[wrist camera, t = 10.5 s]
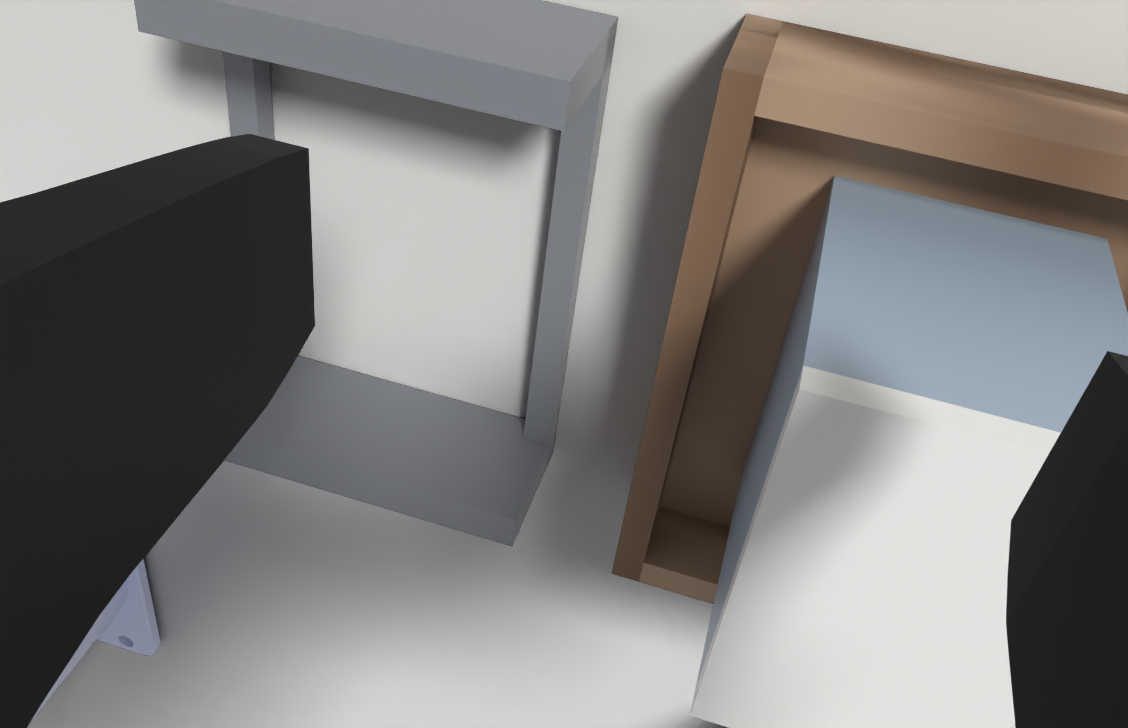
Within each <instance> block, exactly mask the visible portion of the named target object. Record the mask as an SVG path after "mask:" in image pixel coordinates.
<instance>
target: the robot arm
mask: <svg viewBox="0 0 1128 728" xmlns="http://www.w3.org/2000/svg"><path fill="white" fill-rule="evenodd" d="M314 326H315V317H314V289H313V261H312V233H311V205H310V177H309V149H308V148H304V147H300V146H296V145H292V144H288V143H284V142H280V141H276V140H272V139H268V138H264V137H260V136H256V135H253V134H244V135H238V136H232V137H227V138H222V139H218V140H214V141H210V142H206V143H202V144H198V145H194V146H191V147H187V148H184V149H180V150H177V151H173V152H170V153H166V154H163V155H160V156H156V157H153V158H149V159H146V160H143V161H140V162H136V163H133V164H130V165H126V166H123V167H120V168H116V169H113V170H110V171H107V172H103V173H100V174H97V175H93V176H90V177H87V178H83V179H80V180H77V181H73V182H70V183H67V184H64V185H60V186H57V187H54V188H50V189H47V190H44V191H40V192H37V193H34V194H30V195H27V196H23V197H19V198H15V199H12V200H8V201H4V202H1V203H0V728H27V727H28V725H29V724H30V722H31V721H32V720H33V719H34V717H35V716H36V715H37V714H38V712H39V711H40V710H41V709H42V707H43V706H44V705H45V704H46V702H47V701H48V700H49V698H50V697H51V696H52V695H53V693H54V692H55V691H56V690H57V688H58V687H59V686H60V685H61V683H62V682H63V681H64V680H65V678H66V677H67V676H68V675H69V673H70V672H71V671H72V670H73V668H74V667H75V666H76V665H77V663H78V662H79V661H80V660H81V658H82V657H83V656H84V655H85V653H86V652H87V651H88V649H89V648H90V647H91V646H92V644H93V643H94V642H95V641H96V640H99V641H102V642H105V643H108V644H111V645H114V646H117V647H120V648H123V649H126V650H129V651H133V652H136V653H139V654H142V655H146V656H148V655H153V654H154V653H155V652H156V651H157V649H158V648H159V646H160V643H161V642H160V637H159V632H158V627H157V622H156V617H155V612H154V608H153V603H152V598H151V593H150V588H149V583H148V578H147V573H146V569H145V564H144V559H143V558H144V557H145V556H146V555H147V553H148V552H149V551H150V550H151V549H152V547H153V546H154V545H155V544H156V543H157V541H158V540H159V539H160V538H161V536H162V535H163V534H164V533H165V532H166V530H167V529H168V528H169V527H170V525H171V524H172V523H173V522H174V521H175V519H176V518H177V517H178V516H179V514H180V513H181V512H182V511H183V510H184V508H185V507H186V506H187V505H188V504H189V502H190V501H191V500H192V499H193V497H194V496H195V495H196V494H197V493H198V491H199V490H200V489H201V488H202V487H203V485H204V484H205V483H206V482H207V480H208V479H209V478H210V477H211V476H212V474H213V473H214V472H215V471H216V469H217V468H218V467H219V466H220V465H221V463H222V462H223V461H224V460H225V458H226V457H227V456H228V455H229V453H230V452H231V451H232V450H233V448H234V447H235V446H236V445H237V443H238V442H239V441H240V440H241V438H242V437H243V436H244V435H245V434H246V432H247V431H248V430H249V429H250V427H251V426H252V425H253V424H254V422H255V421H256V420H257V418H258V417H259V416H260V415H261V413H262V412H263V411H264V409H265V408H266V407H267V406H268V404H269V402H270V401H271V399H272V398H273V396H274V394H275V393H276V391H277V390H278V388H279V386H280V385H281V383H282V381H283V380H284V378H285V377H286V375H287V373H288V372H289V370H290V368H291V367H292V365H293V363H294V361H295V360H296V358H297V356H298V354H299V353H300V351H301V349H302V347H303V346H304V344H305V342H306V340H307V339H308V337H309V335H310V333H311V332H312V330H313V328H314ZM1006 629H1007V641H1008V653H1009V663H1010V674H1011V685H1012V696H1013V706H1014V716H1015V726H1016V728H1128V356H1126V355H1122V354H1118V353H1114V352H1110V351H1107V353H1106V354H1105V356H1104V358H1103V360H1102V361H1101V363H1100V365H1099V367H1098V368H1097V370H1096V372H1095V374H1094V375H1093V377H1092V379H1091V381H1090V382H1089V384H1088V386H1087V388H1086V390H1085V391H1084V393H1083V395H1082V397H1081V398H1080V400H1079V402H1078V404H1077V405H1076V407H1075V409H1074V411H1073V412H1072V414H1071V416H1070V418H1069V419H1068V421H1067V423H1066V425H1065V426H1064V428H1063V430H1062V432H1061V433H1060V435H1059V437H1058V439H1057V440H1056V442H1055V444H1054V446H1053V448H1052V449H1051V451H1050V453H1049V455H1048V456H1047V458H1046V460H1045V462H1044V463H1043V465H1042V467H1041V469H1040V470H1039V472H1038V474H1037V476H1036V477H1035V479H1034V481H1033V483H1032V484H1031V486H1030V488H1029V490H1028V491H1027V493H1026V495H1025V497H1024V499H1023V500H1022V502H1021V504H1020V506H1019V507H1018V509H1017V511H1016V513H1015V514H1014V516H1013V518H1012V520H1011V531H1010V546H1009V561H1008V576H1007V605H1006Z"/></svg>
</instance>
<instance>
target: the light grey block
mask: <svg viewBox="0 0 1128 728" xmlns="http://www.w3.org/2000/svg"><path fill="white" fill-rule="evenodd" d="M1107 351H1110V352H1114V353H1118V354H1122V355H1126V356H1128V312H1127V309H1126V305H1125V302H1124V298H1123V294H1122V291H1121V287H1120V283H1119V280H1118V276H1117V272H1116V269H1115V265H1114V261H1113V258H1112V254H1111V251H1110V247H1109V243H1108V240H1107V239H1106V238H1102V237H1097V236H1093V235H1089V234H1085V233H1080V232H1076V231H1072V230H1067V229H1063V228H1059V227H1055V226H1050V225H1046V224H1042V223H1037V222H1033V221H1029V220H1024V219H1020V218H1016V217H1012V216H1007V215H1003V214H999V213H994V212H990V211H986V210H982V209H977V208H973V207H969V206H964V205H960V204H956V203H951V202H947V201H943V200H939V199H934V198H930V197H926V196H921V195H917V194H913V193H909V192H904V191H900V190H896V189H891V188H887V187H883V186H878V185H874V184H870V183H866V182H861V181H857V180H853V179H848V178H844V177H840V176H836V175H834V178H833V182H832V185H831V188H830V191H829V195H828V198H827V201H826V204H825V207H824V211H823V214H822V217H821V220H820V223H819V227H818V230H817V233H816V236H815V240H814V243H813V246H812V249H811V252H810V256H809V259H808V262H807V265H806V268H805V272H804V275H803V278H802V281H801V285H800V288H799V291H798V294H797V297H796V301H795V304H794V307H793V310H792V313H791V317H790V320H789V323H788V326H787V330H786V333H785V336H784V339H783V342H782V346H781V349H780V352H779V355H778V358H777V362H776V365H775V368H774V371H773V374H772V378H771V381H770V384H769V387H768V391H767V394H766V397H765V400H764V403H763V407H762V410H761V413H760V416H759V419H758V423H757V426H756V429H755V432H754V436H753V439H752V442H751V445H750V448H749V452H748V455H747V458H746V461H745V464H744V468H743V471H742V474H741V479H740V483H739V488H738V493H737V497H736V502H735V507H734V511H733V516H732V521H731V525H730V530H729V535H728V539H727V544H726V549H725V553H724V558H723V563H722V567H721V572H720V577H719V581H718V586H717V591H716V595H715V600H714V605H713V610H712V614H711V619H710V624H709V628H708V633H707V638H706V642H705V647H704V652H703V656H702V661H701V666H700V670H699V675H698V680H697V684H696V689H695V694H694V698H693V703H692V708H691V712H690V716H693V717H696V718H700V719H703V720H706V721H709V722H712V723H715V724H719V725H722V726H725V727H728V728H1012V727H1013V726H1014V724H1015V716H1014V706H1013V696H1012V685H1011V674H1010V663H1009V653H1008V641H1007V629H1006V605H1007V576H1008V561H1009V546H1010V531H1011V520H1012V518H1013V516H1014V514H1015V513H1016V511H1017V509H1018V507H1019V506H1020V504H1021V502H1022V500H1023V499H1024V497H1025V495H1026V493H1027V491H1028V490H1029V488H1030V486H1031V484H1032V483H1033V481H1034V479H1035V477H1036V476H1037V474H1038V472H1039V470H1040V469H1041V467H1042V465H1043V463H1044V462H1045V460H1046V458H1047V456H1048V455H1049V453H1050V451H1051V449H1052V448H1053V446H1054V444H1055V442H1056V440H1057V439H1058V437H1059V435H1060V433H1061V432H1062V430H1063V428H1064V426H1065V425H1066V423H1067V421H1068V419H1069V418H1070V416H1071V414H1072V412H1073V411H1074V409H1075V407H1076V405H1077V404H1078V402H1079V400H1080V398H1081V397H1082V395H1083V393H1084V391H1085V390H1086V388H1087V386H1088V384H1089V382H1090V381H1091V379H1092V377H1093V375H1094V374H1095V372H1096V370H1097V368H1098V367H1099V365H1100V363H1101V361H1102V360H1103V358H1104V356H1105V354H1106V353H1107Z"/></svg>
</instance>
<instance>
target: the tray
mask: <svg viewBox="0 0 1128 728" xmlns="http://www.w3.org/2000/svg"><path fill="white" fill-rule="evenodd" d="M834 175H836V176H840V177H844V178H848V179H853V180H857V181H861V182H866V183H870V184H874V185H878V186H883V187H887V188H891V189H896V190H900V191H904V192H909V193H913V194H917V195H921V196H926V197H930V198H934V199H939V200H943V201H947V202H951V203H956V204H960V205H964V206H969V207H973V208H977V209H982V210H986V211H990V212H994V213H999V214H1003V215H1007V216H1012V217H1016V218H1020V219H1024V220H1029V221H1033V222H1037V223H1042V224H1046V225H1050V226H1055V227H1059V228H1063V229H1067V230H1072V231H1076V232H1080V233H1085V234H1089V235H1093V236H1097V237H1102V238H1106V239H1107V240H1108V243H1109V247H1110V251H1111V254H1112V258H1113V261H1114V265H1115V269H1116V272H1117V276H1118V280H1119V283H1120V287H1121V291H1122V294H1123V298H1124V302H1125V305H1126V309H1127V312H1128V95H1127V94H1122V93H1117V92H1113V91H1108V90H1103V89H1098V88H1094V87H1089V86H1084V85H1080V84H1075V83H1070V82H1066V81H1061V80H1056V79H1051V78H1047V77H1042V76H1037V75H1033V74H1028V73H1023V72H1019V71H1014V70H1009V69H1004V68H1000V67H995V66H990V65H986V64H981V63H976V62H971V61H967V60H962V59H957V58H953V57H948V56H943V55H939V54H934V53H929V52H924V51H920V50H915V49H910V48H906V47H901V46H896V45H891V44H887V43H882V42H877V41H873V40H868V39H863V38H859V37H854V36H849V35H844V34H840V33H835V32H830V31H826V30H821V29H816V28H812V27H807V26H802V25H797V24H793V23H788V22H783V21H779V20H774V19H769V18H764V17H760V16H755V15H750V14H746V16H745V19H744V21H743V23H742V26H741V28H740V30H739V33H738V35H737V37H736V39H735V42H734V44H733V46H732V49H731V51H730V53H729V56H728V58H727V60H726V62H725V65H724V67H723V71H722V75H721V80H720V84H719V89H718V93H717V98H716V102H715V107H714V111H713V116H712V121H711V125H710V130H709V134H708V139H707V143H706V148H705V152H704V157H703V161H702V166H701V170H700V175H699V180H698V184H697V189H696V193H695V198H694V202H693V207H692V211H691V216H690V220H689V225H688V229H687V234H686V238H685V243H684V248H683V252H682V257H681V261H680V266H679V270H678V275H677V279H676V284H675V288H674V293H673V297H672V302H671V307H670V311H669V316H668V320H667V325H666V329H665V334H664V338H663V343H662V347H661V352H660V356H659V361H658V365H657V370H656V375H655V379H654V384H653V388H652V393H651V397H650V402H649V406H648V411H647V415H646V420H645V424H644V429H643V434H642V438H641V443H640V447H639V452H638V456H637V461H636V465H635V470H634V474H633V479H632V483H631V488H630V492H629V497H628V502H627V506H626V511H625V515H624V520H623V524H622V529H621V533H620V538H619V542H618V547H617V551H616V556H615V561H614V565H613V570H612V574H615V575H618V576H622V577H625V578H628V579H632V580H635V581H638V582H642V583H645V584H649V585H652V586H655V587H659V588H662V589H665V590H669V591H672V592H675V593H679V594H682V595H685V596H689V597H692V598H695V599H699V600H702V601H706V602H709V603H712V604H714V600H715V595H716V591H717V586H718V581H719V577H720V572H721V567H722V563H723V558H724V553H725V549H726V544H727V539H728V535H729V530H730V525H731V521H732V516H733V511H734V507H735V502H736V497H737V493H738V488H739V483H740V479H741V474H742V471H743V468H744V464H745V461H746V458H747V455H748V452H749V448H750V445H751V442H752V439H753V436H754V432H755V429H756V426H757V423H758V419H759V416H760V413H761V410H762V407H763V403H764V400H765V397H766V394H767V391H768V387H769V384H770V381H771V378H772V374H773V371H774V368H775V365H776V362H777V358H778V355H779V352H780V349H781V346H782V342H783V339H784V336H785V333H786V330H787V326H788V323H789V320H790V317H791V313H792V310H793V307H794V304H795V301H796V297H797V294H798V291H799V288H800V285H801V281H802V278H803V275H804V272H805V268H806V265H807V262H808V259H809V256H810V252H811V249H812V246H813V243H814V240H815V236H816V233H817V230H818V227H819V223H820V220H821V217H822V214H823V211H824V207H825V204H826V201H827V198H828V195H829V191H830V188H831V185H832V182H833V178H834Z"/></svg>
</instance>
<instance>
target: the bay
mask: <svg viewBox="0 0 1128 728" xmlns="http://www.w3.org/2000/svg"><path fill="white" fill-rule="evenodd" d="M134 2H135V9H136V16H137V23H138V30H139V31H140V32H144V33H148V34H152V35H157V36H161V37H165V38H169V39H174V40H178V41H182V42H186V43H191V44H195V45H199V46H203V47H208V48H212V49H216V50H220V51H223V54H224V65H225V76H226V87H227V97H228V108H229V119H230V130H231V137H232V136H238V135H244V134H253V135H256V136H260V137H264V138H268V139H272V140H274V126H273V110H272V94H271V79H270V63H269V62H271V63H275V64H280V65H284V66H288V67H292V68H297V69H301V70H305V71H309V72H314V73H318V74H322V75H326V76H331V77H335V78H339V79H343V80H348V81H352V82H356V83H360V84H365V85H369V86H373V87H377V88H382V89H386V90H390V91H394V92H399V93H403V94H407V95H411V96H416V97H420V98H424V99H428V100H433V101H437V102H441V103H445V104H450V105H454V106H458V107H462V108H466V109H471V110H475V111H479V112H483V113H488V114H492V115H496V116H500V117H505V118H509V119H513V120H517V121H522V122H526V123H530V124H534V125H539V126H543V127H547V128H551V129H556V130H560V131H561V136H560V145H559V153H558V161H557V169H556V177H555V185H554V193H553V201H552V209H551V217H550V225H549V233H548V241H547V249H546V257H545V265H544V273H543V282H542V290H541V298H540V306H539V314H538V322H537V330H536V338H535V346H534V354H533V362H532V370H531V378H530V386H529V394H528V402H527V411H526V419H523V418H519V417H516V416H512V415H508V414H505V413H501V412H498V411H494V410H490V409H487V408H483V407H480V406H476V405H473V404H469V403H465V402H462V401H458V400H455V399H451V398H448V397H444V396H440V395H437V394H433V393H430V392H426V391H422V390H419V389H415V388H412V387H408V386H405V385H401V384H397V383H394V382H390V381H387V380H383V379H380V378H376V377H372V376H369V375H365V374H362V373H358V372H354V371H351V370H347V369H344V368H340V367H337V366H333V365H329V364H326V363H322V362H319V361H315V360H312V359H308V358H304V357H301V356H297V358H296V360H295V361H294V363H293V365H292V367H291V368H290V370H289V372H288V373H287V375H286V377H285V378H284V380H283V381H282V383H281V385H280V386H279V388H278V390H277V391H276V393H275V394H274V396H273V398H272V399H271V401H270V402H269V404H268V406H267V407H266V408H265V409H264V411H263V412H262V413H261V415H260V416H259V417H258V418H257V420H256V421H255V422H254V424H253V425H252V426H251V427H250V429H249V430H248V431H247V432H246V434H245V435H244V436H243V437H242V438H241V440H240V441H239V442H238V443H237V445H236V446H235V447H234V448H233V450H232V451H231V452H230V453H229V455H228V456H227V457H226V458H225V461H228V462H231V463H235V464H238V465H242V466H245V467H248V468H252V469H255V470H258V471H262V472H265V473H268V474H272V475H275V476H278V477H282V478H285V479H288V480H292V481H295V482H298V483H302V484H305V485H308V486H312V487H315V488H319V489H322V490H325V491H329V492H332V493H335V494H339V495H342V496H345V497H349V498H352V499H355V500H359V501H362V502H365V503H369V504H372V505H375V506H379V507H382V508H385V509H389V510H392V511H395V512H399V513H402V514H406V515H409V516H412V517H416V518H419V519H422V520H426V521H429V522H432V523H436V524H439V525H442V526H446V527H449V528H452V529H456V530H459V531H462V532H466V533H469V534H472V535H476V536H479V537H483V538H486V539H489V540H493V541H496V542H499V543H503V544H506V545H509V546H512V545H513V543H514V541H515V538H516V536H517V534H518V532H519V529H520V527H521V525H522V523H523V520H524V518H525V516H526V513H527V511H528V509H529V507H530V504H531V502H532V500H533V497H534V495H535V493H536V491H537V488H538V486H539V484H540V481H541V479H542V477H543V475H544V472H545V470H546V468H547V465H548V463H549V461H550V459H551V456H552V454H553V448H554V441H555V435H556V428H557V421H558V415H559V408H560V401H561V395H562V388H563V381H564V375H565V368H566V361H567V355H568V348H569V341H570V335H571V328H572V321H573V315H574V308H575V302H576V295H577V288H578V282H579V275H580V268H581V262H582V255H583V248H584V242H585V235H586V228H587V222H588V215H589V208H590V202H591V195H592V188H593V182H594V175H595V168H596V162H597V155H598V148H599V142H600V135H601V128H602V122H603V115H604V108H605V102H606V95H607V88H608V82H609V75H610V68H611V62H612V55H613V48H614V42H615V35H616V28H617V22H618V17H616V16H611V15H607V14H602V13H597V12H593V11H588V10H584V9H579V8H574V7H570V6H565V5H561V4H556V3H551V2H547V1H542V0H134Z"/></svg>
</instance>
